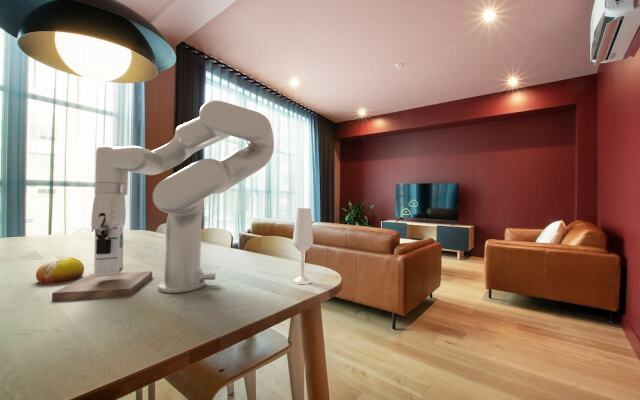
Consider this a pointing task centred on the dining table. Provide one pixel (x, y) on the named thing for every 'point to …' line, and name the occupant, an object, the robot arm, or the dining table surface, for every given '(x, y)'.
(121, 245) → the syrup box
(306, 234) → the champagne flute
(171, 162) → the robot arm
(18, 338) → the dining table surface
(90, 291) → the walnut board
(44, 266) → the fruit
